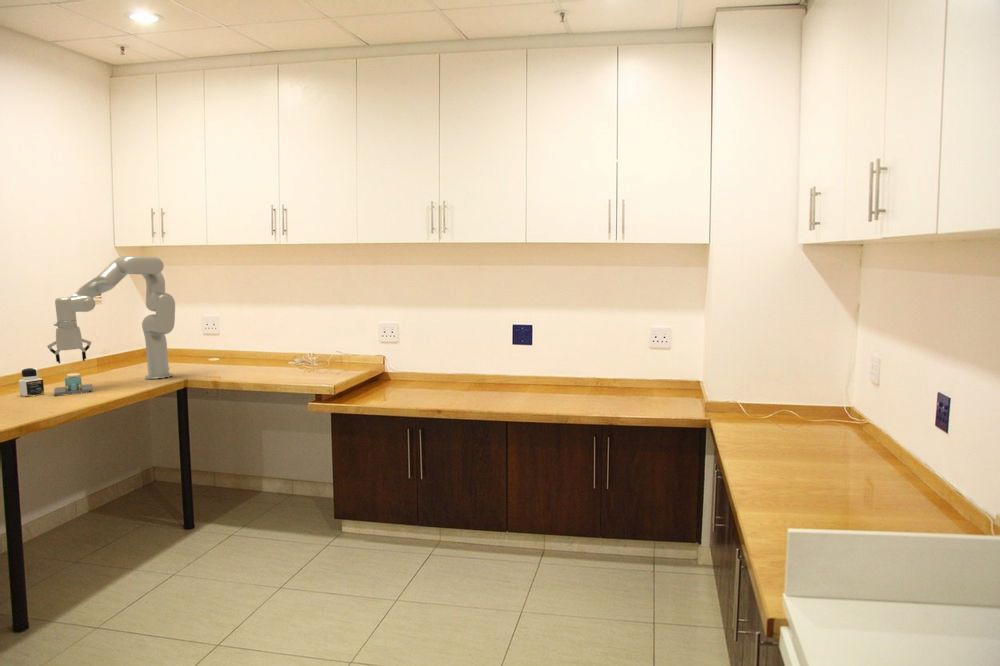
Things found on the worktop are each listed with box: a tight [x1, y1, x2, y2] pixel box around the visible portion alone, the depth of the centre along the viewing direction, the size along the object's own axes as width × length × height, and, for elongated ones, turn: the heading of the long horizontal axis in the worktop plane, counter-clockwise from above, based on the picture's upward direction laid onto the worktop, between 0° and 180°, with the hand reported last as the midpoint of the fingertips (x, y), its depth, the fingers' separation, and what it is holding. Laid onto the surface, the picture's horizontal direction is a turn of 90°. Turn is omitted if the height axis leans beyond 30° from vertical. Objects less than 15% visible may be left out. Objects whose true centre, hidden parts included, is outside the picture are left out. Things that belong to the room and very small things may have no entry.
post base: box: [53, 383, 94, 396], centre depth 332 cm, size 15×15×6 cm
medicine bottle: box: [18, 367, 45, 397], centre depth 326 cm, size 7×7×12 cm
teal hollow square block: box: [64, 375, 83, 390], centre depth 331 cm, size 9×6×5 cm
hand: (71, 361), depth 331 cm, fingers open, 9 cm apart
